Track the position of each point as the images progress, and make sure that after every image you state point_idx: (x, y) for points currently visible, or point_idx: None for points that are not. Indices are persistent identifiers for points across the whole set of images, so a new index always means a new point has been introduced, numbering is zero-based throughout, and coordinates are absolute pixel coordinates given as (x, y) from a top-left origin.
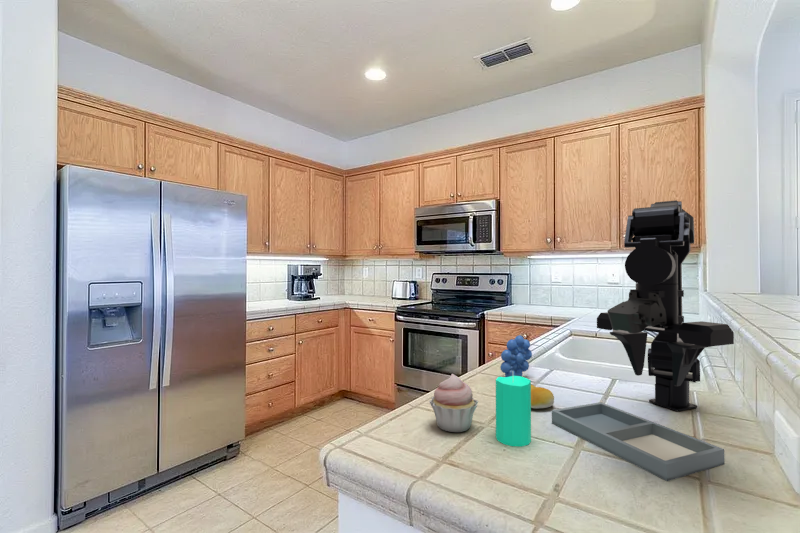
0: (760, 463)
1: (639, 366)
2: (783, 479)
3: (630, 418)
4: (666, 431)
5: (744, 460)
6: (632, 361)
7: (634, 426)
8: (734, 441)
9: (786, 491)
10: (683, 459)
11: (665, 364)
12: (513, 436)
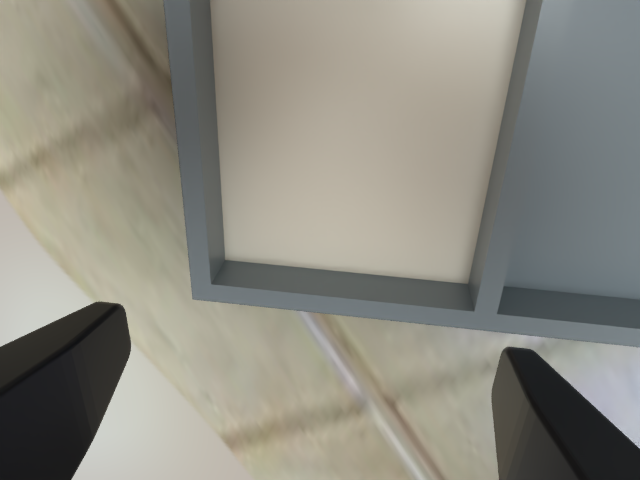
0: (190, 367)
1: (518, 448)
2: None
3: (588, 313)
4: (404, 298)
5: (217, 351)
6: (603, 452)
7: (503, 210)
8: (310, 454)
9: (57, 251)
10: (171, 56)
11: None
12: None
